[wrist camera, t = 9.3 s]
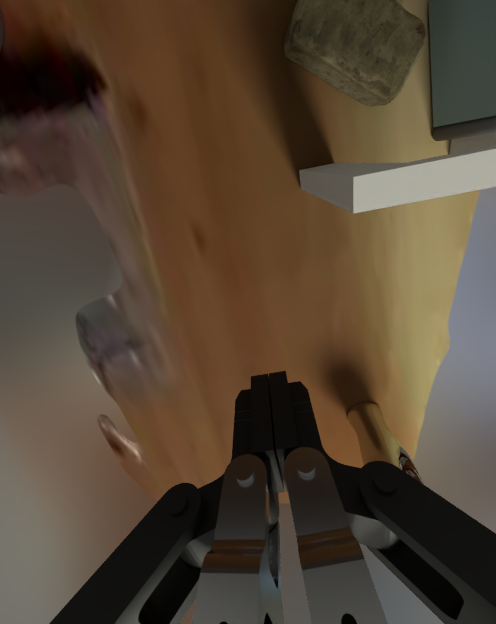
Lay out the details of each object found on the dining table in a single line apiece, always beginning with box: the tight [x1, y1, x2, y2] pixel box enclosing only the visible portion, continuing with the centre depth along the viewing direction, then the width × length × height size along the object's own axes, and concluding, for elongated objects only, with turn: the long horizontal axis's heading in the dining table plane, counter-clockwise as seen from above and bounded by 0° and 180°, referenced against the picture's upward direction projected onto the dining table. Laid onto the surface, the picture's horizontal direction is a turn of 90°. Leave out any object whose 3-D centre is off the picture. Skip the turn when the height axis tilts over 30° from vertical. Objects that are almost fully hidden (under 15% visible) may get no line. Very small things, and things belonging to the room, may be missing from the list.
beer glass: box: [347, 402, 424, 485], centre depth 44 cm, size 7×7×15 cm
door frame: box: [299, 134, 496, 213], centre depth 23 cm, size 18×2×18 cm, turn 100°
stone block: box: [284, 0, 426, 106], centre depth 25 cm, size 6×12×5 cm, turn 67°
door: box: [429, 0, 496, 141], centre depth 21 cm, size 12×1×14 cm, turn 20°
